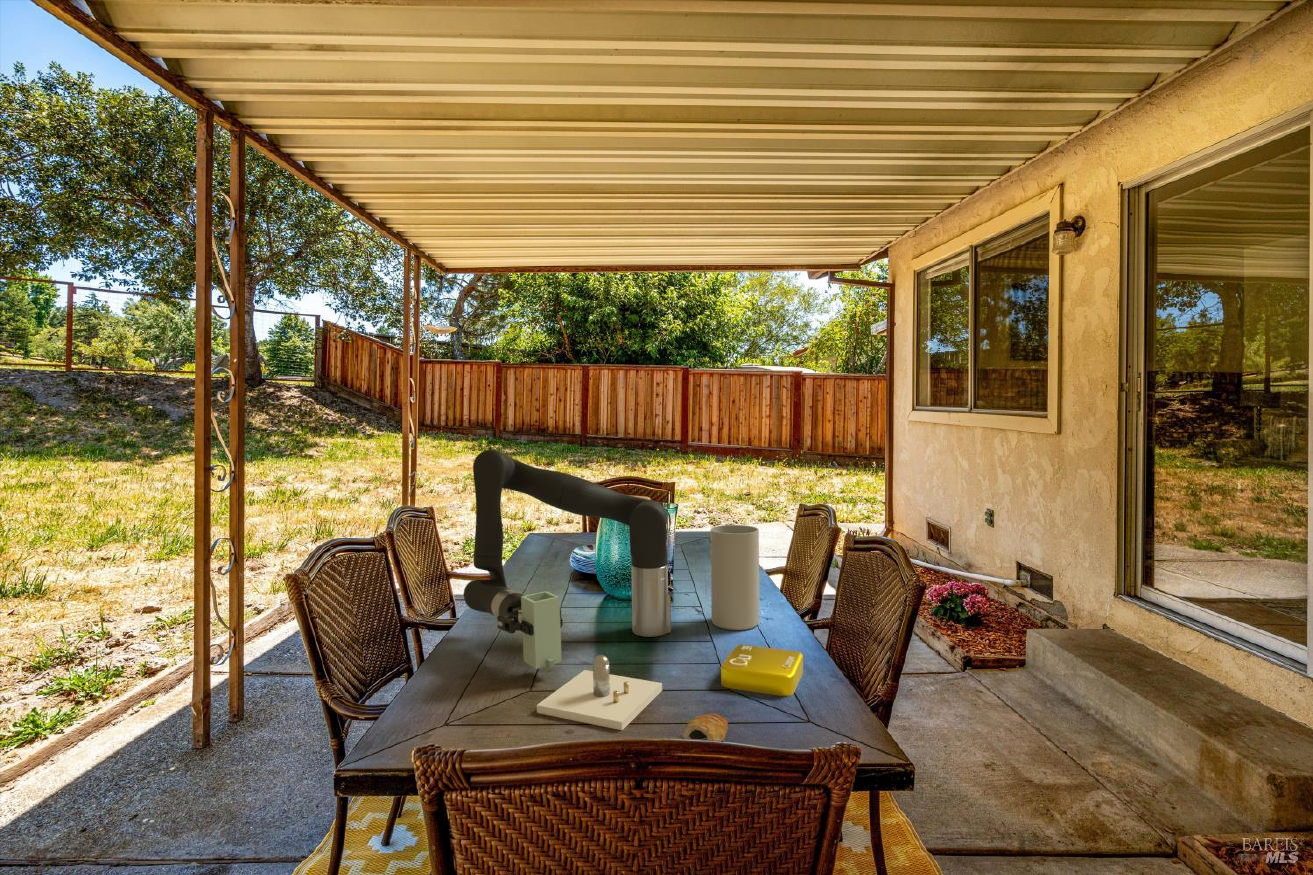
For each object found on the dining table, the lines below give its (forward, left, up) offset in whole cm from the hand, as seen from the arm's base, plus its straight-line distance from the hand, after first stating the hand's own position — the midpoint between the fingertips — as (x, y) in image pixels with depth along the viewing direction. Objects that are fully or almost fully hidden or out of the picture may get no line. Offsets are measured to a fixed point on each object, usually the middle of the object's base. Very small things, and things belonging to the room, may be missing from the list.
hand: (546, 627), depth 141 cm
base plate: (-9, +14, -11) cm, 20 cm away
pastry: (-23, +33, -12) cm, 42 cm away
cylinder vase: (-52, -21, -12) cm, 57 cm away
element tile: (-44, +13, -12) cm, 47 cm away
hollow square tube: (+1, -2, -8) cm, 8 cm away
